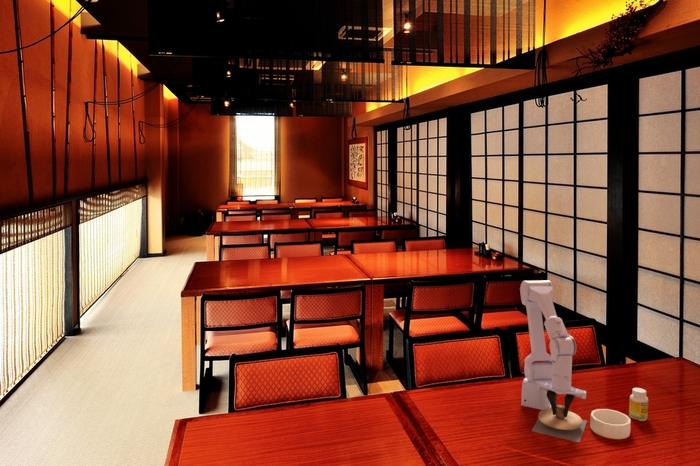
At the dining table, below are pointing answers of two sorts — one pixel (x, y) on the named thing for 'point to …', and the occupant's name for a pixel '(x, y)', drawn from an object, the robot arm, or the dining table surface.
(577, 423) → the lid
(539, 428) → the mat
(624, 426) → the bowl
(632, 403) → the supplement bottle
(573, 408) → the dining table surface
